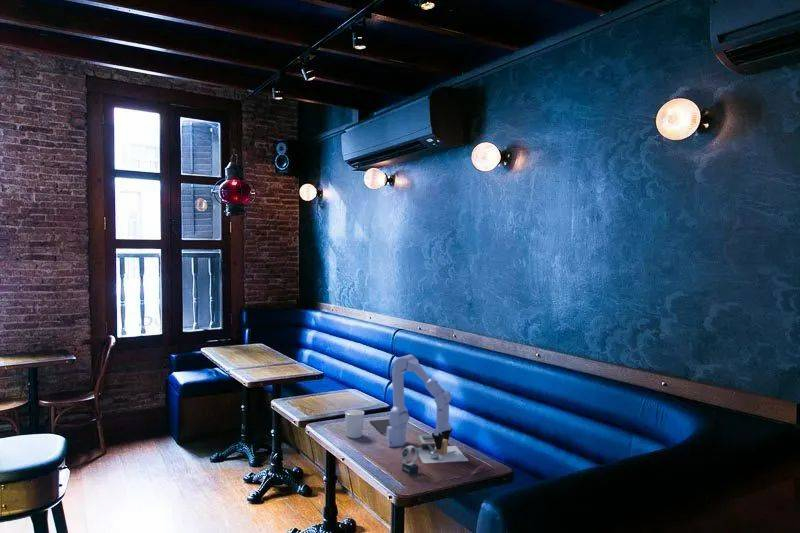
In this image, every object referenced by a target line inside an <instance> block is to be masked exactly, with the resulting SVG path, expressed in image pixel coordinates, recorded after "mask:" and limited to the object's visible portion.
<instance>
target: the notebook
mask: <svg viewBox="0 0 800 533" xmlns="http://www.w3.org/2000/svg"><path fill="white" fill-rule="evenodd" d="M369 424H371V426H372V427H373V428H374V429H375V430H376V431H378V432H379V433H380V434H381V435H382V436H387V426H391V425H390V423H389V418H386V419H376V420H369Z"/></svg>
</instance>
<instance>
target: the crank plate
mask: <svg viewBox="0 0 800 533" xmlns="http://www.w3.org/2000/svg"><path fill="white" fill-rule="evenodd" d="M416 448H417V449H418V451H419V457H418V458H419V459H420V460H421V462H422V463H423V464H436V463H438V464H439V463H452V462H453V463H454V462H455V463H456V462H469V459H468V457H466V456H465V455H464V454H463V452H462V451H461V450H460V449H459V448H458V447H457V445H447V453H446V454H444V455H442V454H439V458H438V459H432V458H430V453H429V451H428V450H427V449H422V446H421V447H416ZM413 450H415V448H413ZM434 450H436V446H435V449H434Z"/></svg>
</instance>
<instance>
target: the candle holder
mask: <svg viewBox="0 0 800 533" xmlns="http://www.w3.org/2000/svg"><path fill="white" fill-rule="evenodd" d="M344 415H345V416H344V418H345V419H344V420H345V422H344V423H345V436H346V438H350V439H359V438H362V437H363V430H364V422H365V421H364V417H365V411H363V410H361V409H356V408H354V409H347V410H346V411H344Z"/></svg>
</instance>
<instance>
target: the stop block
mask: <svg viewBox="0 0 800 533" xmlns="http://www.w3.org/2000/svg"><path fill="white" fill-rule="evenodd" d="M447 444H448V445H449V440H447V439H443V441H442V447H441V449H436V451H439V454H442V455H444V454H446V453H447V446H448V445H447Z"/></svg>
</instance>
